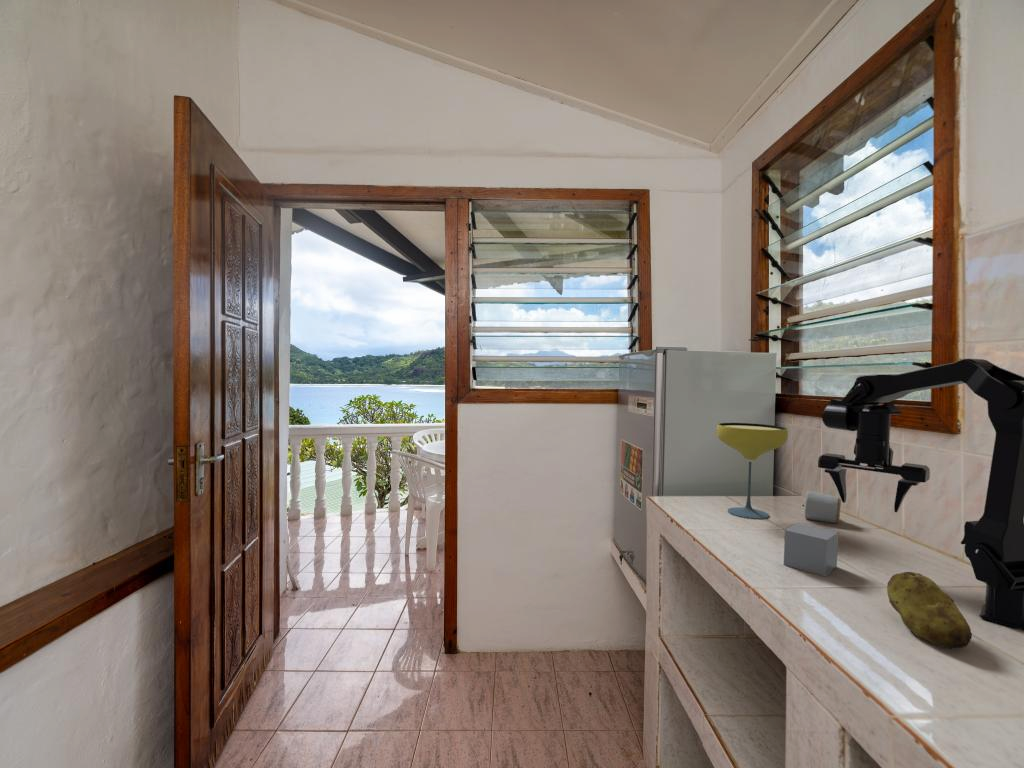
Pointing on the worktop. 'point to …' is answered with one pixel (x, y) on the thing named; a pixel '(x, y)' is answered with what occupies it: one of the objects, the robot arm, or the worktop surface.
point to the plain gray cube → (811, 549)
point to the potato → (928, 610)
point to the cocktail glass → (751, 452)
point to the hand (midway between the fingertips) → (869, 507)
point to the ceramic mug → (822, 507)
